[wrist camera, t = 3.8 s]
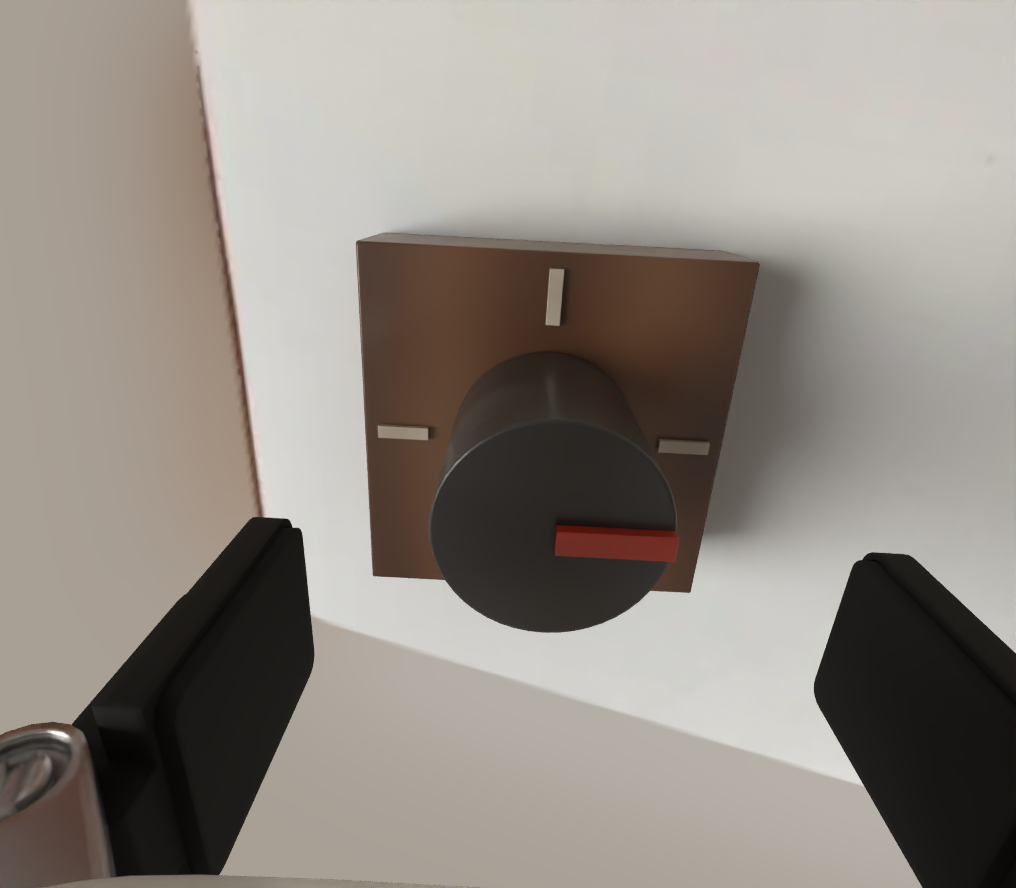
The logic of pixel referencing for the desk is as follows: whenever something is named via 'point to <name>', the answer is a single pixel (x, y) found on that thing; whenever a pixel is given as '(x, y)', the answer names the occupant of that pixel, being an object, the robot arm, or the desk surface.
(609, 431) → the dial knob
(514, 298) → the dial panel
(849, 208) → the desk surface
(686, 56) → the desk surface
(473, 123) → the desk surface
